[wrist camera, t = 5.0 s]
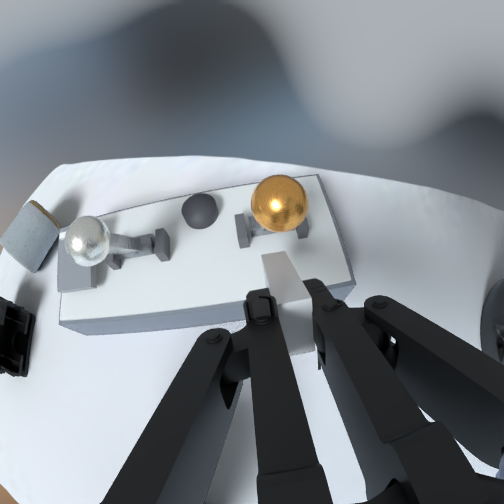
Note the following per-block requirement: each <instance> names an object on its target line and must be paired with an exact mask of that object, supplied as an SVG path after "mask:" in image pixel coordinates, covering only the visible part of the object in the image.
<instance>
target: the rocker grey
mask: <svg viewBox="0 0 504 504" xmlns="http://www.w3.org/2000/svg"><path fill="white" fill-rule="evenodd" d="M68 227H69V226H67V227H64V228H60V231H59V245H58V274H57V286H58V292H61V293H68V292H75V291H82V290H89V289H96V288H97V274H96V265H94V266H81V265H79V264H77V263H75V262H74V261H73V260H72V259H71V258H70V257H69V255H68V253H67V251H66V248H65V234H66V231H67V229H68Z"/></svg>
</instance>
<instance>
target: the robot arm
mask: <svg viewBox="0 0 504 504" xmlns="http://www.w3.org/2000/svg"><path fill="white" fill-rule="evenodd" d="M261 259H262V265H263V271H264V277H265V283H266V288H263V289H258V290H252V291H249V292H248V294H247V295H246V300H245V301H244V303H243V308H244V313H245V318H246V323H247V325H246V326H245V327H244V328H243V329H241V330H240V331H238V332H235V333H232V334H230V332H229V331H228V330H226V329H223V328H215V329H214V328H213V329H210V330H207V331H205V332H204V333H202V334H201V335H200V336H199V337H198V339H197V341H196V342H195V344H194V346H193V347H192V349H191V351H190V352H189V354H188V356H187V358H186V359H185V361H184V363H183V364H182V366H181V368H180V369H179V371H178V373H177V375H176V376H175V378H174V380H173V381H172V383H171V385H170V386H169V388H168V390H167V392H166V393H165V395H164V397H163V398H162V400H161V402H160V403H159V405H158V407H157V409H156V410H155V412H154V414H153V415H152V417H151V419H150V421H149V422H148V424H147V426H146V427H145V429H144V431H143V432H142V434H141V436H140V438H139V439H138V441H137V443H136V444H135V446H134V448H133V450H132V451H131V453H130V455H129V456H128V458H127V460H126V462H125V463H124V465H123V467H122V468H121V470H120V472H119V474H118V475H117V477H116V479H115V480H114V482H113V484H112V486H111V487H110V489H109V491H108V493H107V494H106V496H105V498H104V499H103V501H102V502H101V503H100V504H204V501H205V498H206V495H207V493H208V490H209V487H210V484H211V481H212V478H213V475H214V472H215V469H216V466H217V463H218V460H219V457H220V454H221V451H222V448H223V445H224V442H225V439H226V436H227V433H228V430H229V427H230V424H231V421H232V417H233V414H234V411H235V408H236V405H237V402H238V398H239V395H240V392H241V389H242V385H243V380H244V379H247V378H249V377H251V388H252V401H253V413H254V425H255V436H256V448H257V459H258V475H257V495H258V504H333V502H332V498H331V494H330V491H329V487H328V483H327V480H326V476H325V473H324V470H323V467H322V465H321V464H320V463H319V461H318V458H317V455H316V451H315V447H314V443H313V440H312V436H311V432H310V429H309V425H308V421H307V418H306V414H305V410H304V407H303V403H302V399H301V396H300V392H299V388H298V385H297V381H296V377H295V374H294V370H293V367H292V363H291V359H290V356H293V355H298V354H302V353H307V352H312V351H315V344H316V346H317V352H318V370H320V369H321V367H322V369H323V372H324V374H325V377H326V379H327V382H328V384H329V387H330V389H331V392H332V394H333V397H334V399H335V402H336V405H337V407H338V410H339V412H340V415H341V418H342V420H343V423H344V425H345V428H346V431H347V433H348V436H349V439H350V441H351V444H352V447H353V449H354V452H355V455H356V457H357V460H358V463H359V465H360V468H361V471H362V474H363V476H364V479H365V484H366V496H367V500H368V501H366V502H363V503H355V504H504V279H502V280H501V281H499V282H498V283H496V284H495V285H494V286H493V288H492V289H491V290H490V292H489V294H488V296H487V298H486V301H485V304H484V308H483V313H482V321H481V344H482V351H480V350H478V349H477V348H475V347H474V346H472V345H470V344H469V343H467V342H465V341H464V340H462V339H460V338H459V337H457V336H455V335H454V334H452V333H450V332H449V331H447V330H445V329H444V328H442V327H440V326H438V325H437V324H435V323H433V322H432V321H430V320H428V319H426V318H425V317H423V316H421V315H420V314H418V313H416V312H414V311H413V310H411V309H409V308H407V307H406V306H404V305H402V304H400V303H399V302H397V301H395V300H393V299H392V298H389V297H387V296H382V295H378V296H373V297H370V298H368V299H366V301H365V302H364V307H361V308H349V307H348V306H347V305H346V304H345V302H343V301H342V300H339V299H334V297H333V296H332V294H331V293H330V292H329V290H328V289H327V287H326V286H325V285H324V283H323V282H322V281H321V280H319V279H316V278H313V279H308V280H303V281H302V280H301V278H300V276H299V275H298V273H297V271H296V269H295V268H294V266H293V264H292V262H291V261H290V259H289V257H288V255H287V254H286V252H285V251H280V252H274V253H268V254H263V255H261ZM391 336H392V337H393V338H394V339H395V340H396V343H395V344H394V343H393V342H391ZM417 405H418V406H419V407H420V408H421V409H422V410H423V411H424V412H425V413H426V414H428V415H429V416H430V417H431V418H432V419H433V420H434V421H435V422H429V421H428V420H427V419H426V418H425V416H424V415H423V413H422V412H421V410H420V409H419V407H418V406H417ZM454 438H455V439H456V440H457V441H458V442H459V443H460V444H461V445H463V446H464V447H465V448H466V449H467V450H468V451H469V452H470V453H472V454H473V455H474V456H475V457H477V458H478V459H479V460H481V461H482V462H484V463H486V464H488V465H489V466H492V467H494V468H497V469H499V471H498V472H497V474H496V478H494V477H490V476H486V475H482V474H479V473H475V471H474V469H473V468H472V466H471V464H470V463H469V461H468V460H467V458H466V456H465V455H464V453H463V452H462V450H461V448H460V447H459V445H458V444H457V442H456V441H455V439H454Z"/></svg>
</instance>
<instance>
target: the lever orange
mask: <svg viewBox="0 0 504 504" xmlns="http://www.w3.org/2000/svg"><path fill="white" fill-rule="evenodd" d="M308 208H309V200H308V195H307V193H306V190H305V189H304V187H303V186H302V185H301V184H300V183H299V182H298V181H297V180H295V179H294V178H292V177H290V176H286V175H273V176H269V177H267V178H265V179H264V180H262V181H261V182H260V183H259V184H258V185H257V186H256V187H255V189H254V191H253V193H252V196H251V210H252V213H253V215H249V216H248V220H249V226H250V232H251V237H256V236H262V235H268V234H275V233H282V232H288V231H293V230H295V228H296V227H298V226H299V225H300V224H301V223H302V222H303V221H304V219H305V217H306V215H307V213H308Z"/></svg>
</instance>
